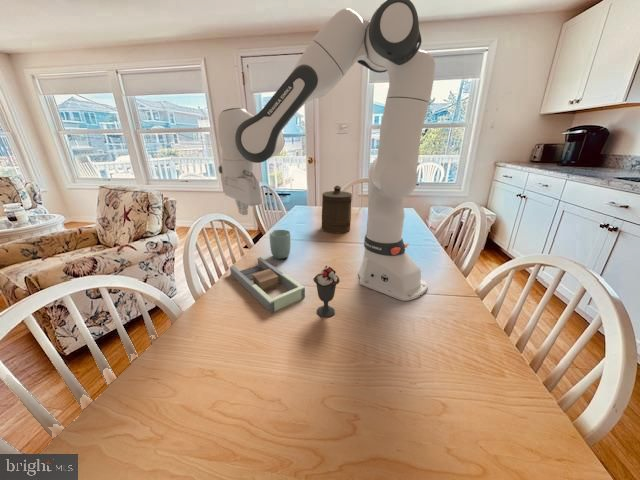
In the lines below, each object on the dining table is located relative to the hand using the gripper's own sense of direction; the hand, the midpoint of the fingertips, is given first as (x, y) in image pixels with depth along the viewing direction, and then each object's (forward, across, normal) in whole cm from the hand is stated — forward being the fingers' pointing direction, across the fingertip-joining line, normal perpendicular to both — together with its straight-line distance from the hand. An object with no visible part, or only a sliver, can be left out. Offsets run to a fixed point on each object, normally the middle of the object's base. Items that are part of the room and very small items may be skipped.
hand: (243, 214), depth 81 cm
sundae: (+21, -34, -6) cm, 40 cm away
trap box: (+21, -11, 0) cm, 24 cm away
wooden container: (+21, +14, -55) cm, 61 cm away
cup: (+21, +3, -15) cm, 26 cm away
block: (+21, -12, 0) cm, 24 cm away
